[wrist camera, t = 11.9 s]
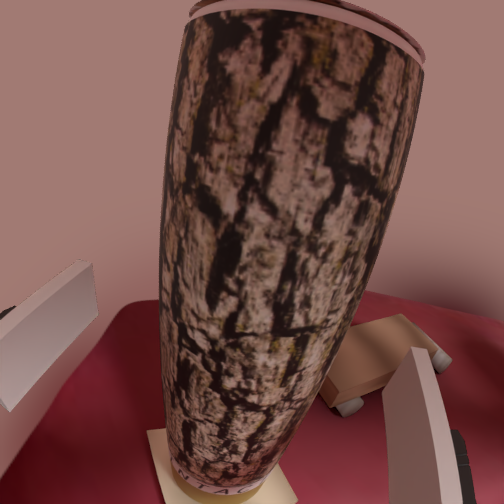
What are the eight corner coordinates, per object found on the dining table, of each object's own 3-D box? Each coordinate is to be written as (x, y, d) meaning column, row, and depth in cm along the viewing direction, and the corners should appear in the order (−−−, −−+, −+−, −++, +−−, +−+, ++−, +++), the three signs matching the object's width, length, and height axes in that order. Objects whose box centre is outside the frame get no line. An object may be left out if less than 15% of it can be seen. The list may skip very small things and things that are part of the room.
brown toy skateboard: (407, 332, 38) (421, 304, 36) (445, 370, 32) (464, 342, 29) (285, 367, 30) (297, 334, 28) (326, 430, 24) (345, 400, 21)
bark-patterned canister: (182, 426, 21) (215, 44, 10) (266, 441, 21) (382, 77, 10) (162, 497, 15) (148, -16, 4) (260, 515, 15) (476, 55, 4)
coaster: (250, 418, 24) (252, 413, 24) (294, 503, 17) (298, 500, 16) (147, 435, 20) (146, 430, 20) (176, 534, 13) (175, 532, 13)
